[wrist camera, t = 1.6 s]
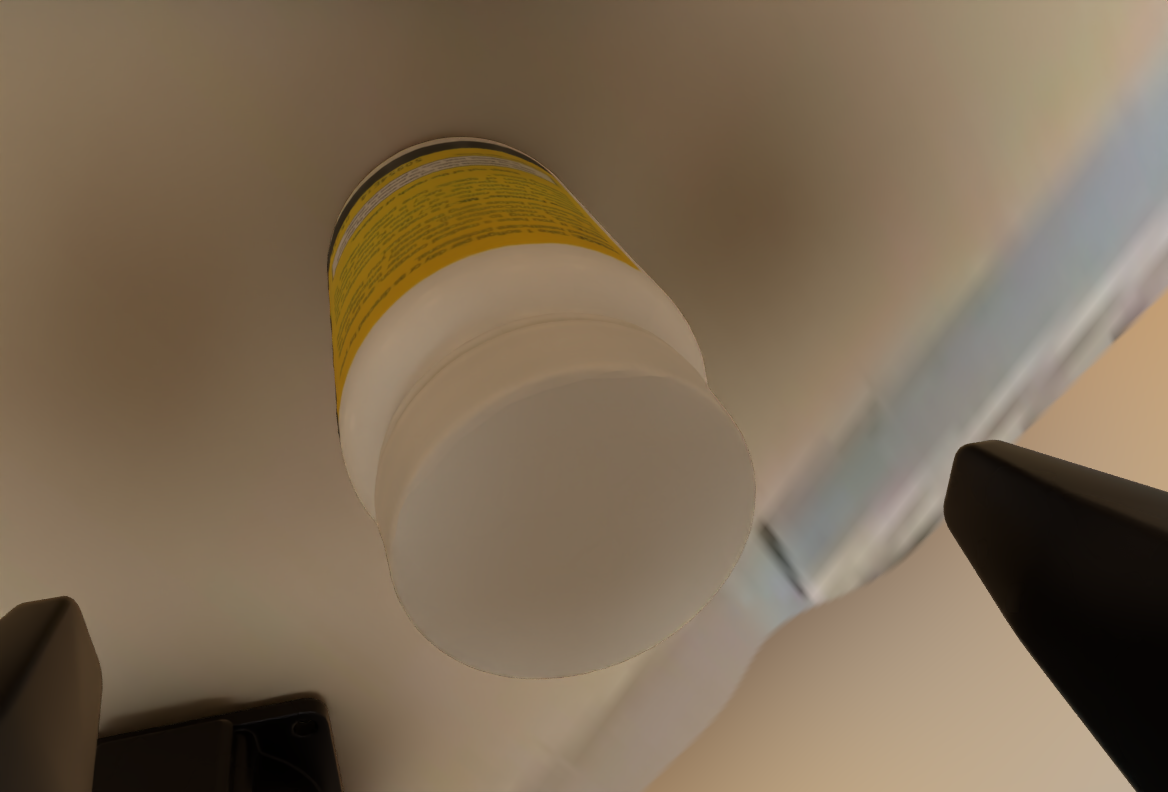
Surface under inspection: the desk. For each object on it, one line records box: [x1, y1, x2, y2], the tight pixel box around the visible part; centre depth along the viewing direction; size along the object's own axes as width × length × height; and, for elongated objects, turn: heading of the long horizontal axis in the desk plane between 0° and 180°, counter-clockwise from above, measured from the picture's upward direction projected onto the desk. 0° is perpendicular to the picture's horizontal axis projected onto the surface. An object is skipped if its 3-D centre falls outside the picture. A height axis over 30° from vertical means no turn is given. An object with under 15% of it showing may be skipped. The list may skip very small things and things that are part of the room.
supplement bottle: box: [327, 137, 756, 679], centre depth 13 cm, size 5×5×8 cm
